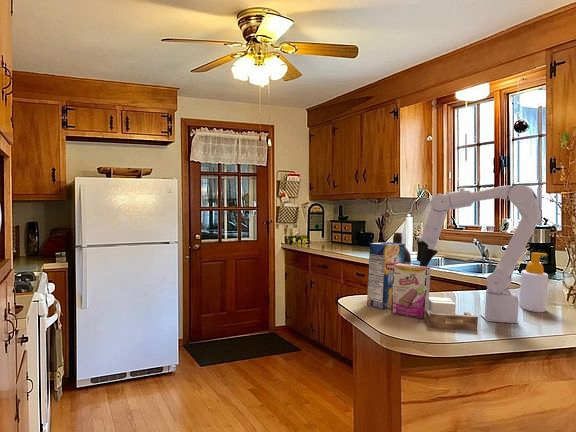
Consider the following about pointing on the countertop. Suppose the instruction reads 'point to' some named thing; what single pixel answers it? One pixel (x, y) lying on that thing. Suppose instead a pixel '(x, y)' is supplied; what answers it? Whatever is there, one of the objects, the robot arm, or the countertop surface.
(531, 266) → the soap bottle
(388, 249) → the beverage box
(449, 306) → the carton
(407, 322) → the countertop surface
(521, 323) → the countertop surface
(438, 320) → the display stand
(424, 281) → the candy bar box
